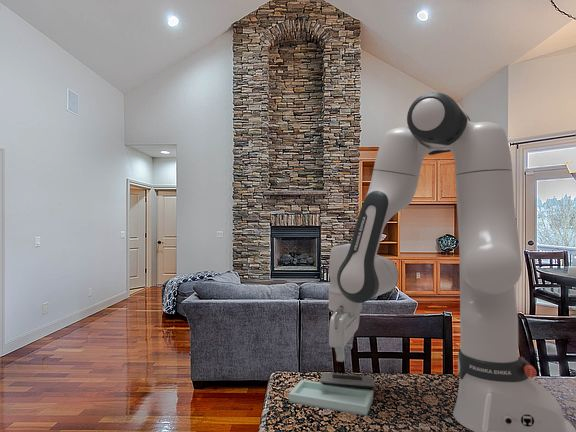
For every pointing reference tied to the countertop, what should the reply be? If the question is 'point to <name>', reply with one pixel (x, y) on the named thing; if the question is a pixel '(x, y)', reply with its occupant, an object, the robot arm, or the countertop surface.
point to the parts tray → (332, 397)
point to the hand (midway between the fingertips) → (344, 354)
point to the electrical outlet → (347, 380)
